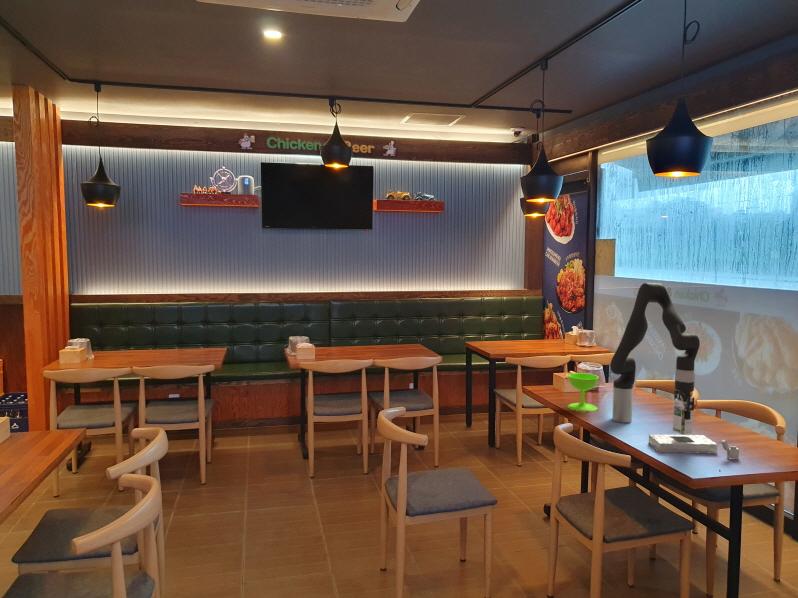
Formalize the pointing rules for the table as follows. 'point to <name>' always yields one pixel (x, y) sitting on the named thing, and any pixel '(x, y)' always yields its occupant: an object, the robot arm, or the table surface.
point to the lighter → (730, 450)
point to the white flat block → (682, 443)
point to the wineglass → (582, 389)
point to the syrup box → (681, 418)
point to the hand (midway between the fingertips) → (683, 416)
